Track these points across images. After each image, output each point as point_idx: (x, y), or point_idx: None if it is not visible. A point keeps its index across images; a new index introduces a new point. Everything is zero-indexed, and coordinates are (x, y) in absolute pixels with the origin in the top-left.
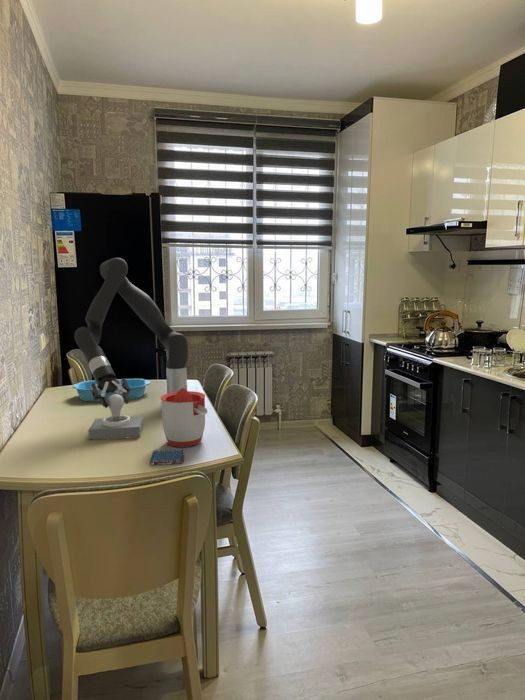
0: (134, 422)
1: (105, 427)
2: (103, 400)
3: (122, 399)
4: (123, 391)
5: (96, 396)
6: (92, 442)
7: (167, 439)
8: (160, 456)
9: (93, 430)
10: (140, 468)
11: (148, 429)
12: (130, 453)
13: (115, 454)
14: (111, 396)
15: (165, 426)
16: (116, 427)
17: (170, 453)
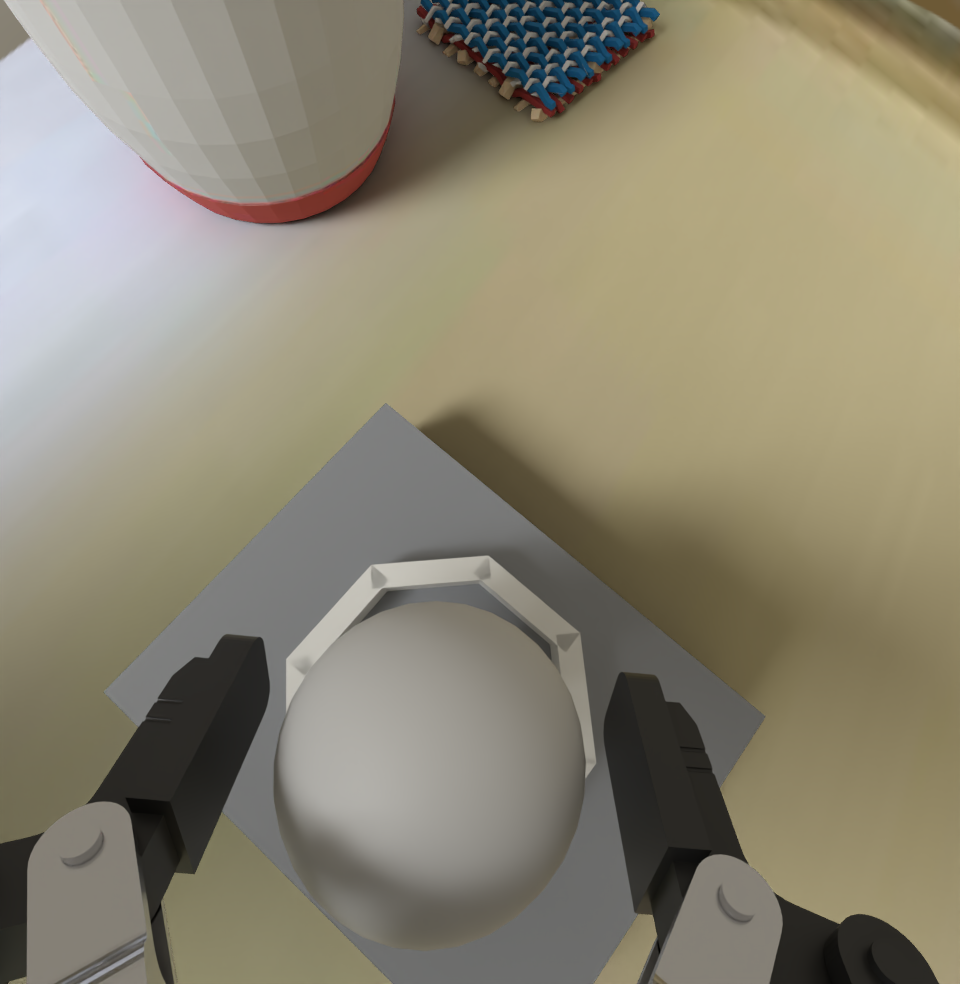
0: (321, 558)
1: (612, 639)
2: (700, 788)
3: (356, 631)
4: (134, 852)
5: (885, 936)
6: (717, 625)
7: (390, 123)
8: (574, 24)
9: (719, 682)
10: (709, 41)
11: (210, 555)
12: (632, 233)
13: (708, 286)
14: (529, 782)
15: (399, 5)
16: (538, 552)
17: (506, 16)
